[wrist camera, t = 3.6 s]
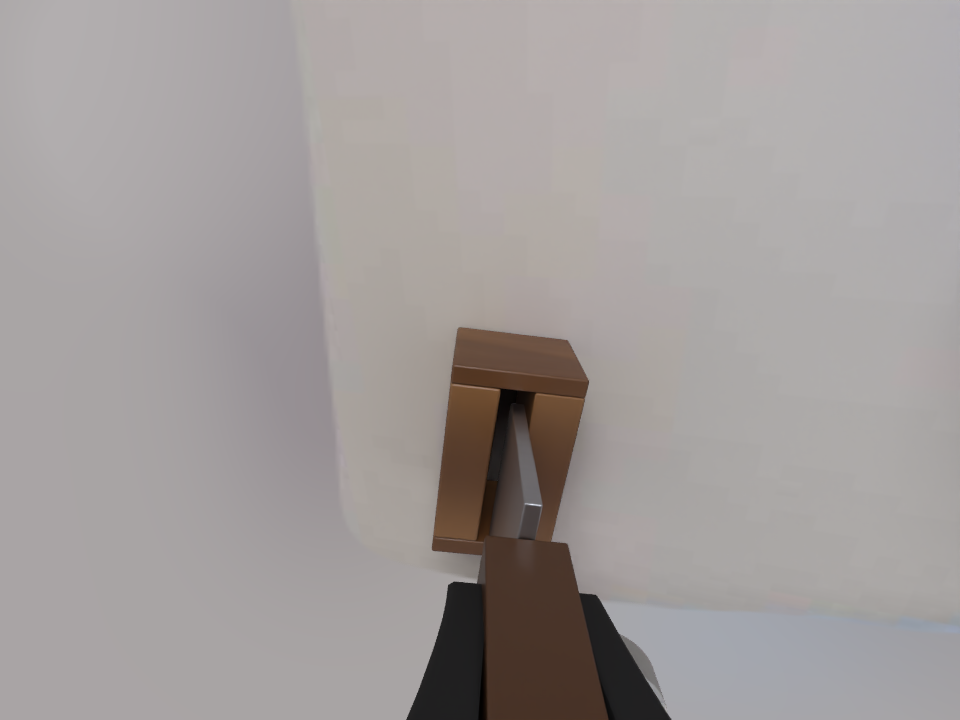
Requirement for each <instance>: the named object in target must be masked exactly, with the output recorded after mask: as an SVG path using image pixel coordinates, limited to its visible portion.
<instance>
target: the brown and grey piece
mask: <svg viewBox="0 0 960 720" xmlns="http://www.w3.org/2000/svg"><path fill="white" fill-rule="evenodd" d="M542 507H543V505H542V499H541V494H540V489H539V483H538V478H537V472H536V467H535V462H534V456H533V451H532V445H531V440H530V435H529V429H528V424H527V419H526V413H525V408H524V405H523V404H515V403H512V404H511V407H510V413H509V419H508V424H507V430H506V436H505V442H504V448H503V454H502V460H501V465H500V471H499V477H498V483H497V489H496V495H495V501H494V506H493V512H492V518H491V524H490V530H489V536H486V537H485V539H484V545H483V551H482V557H481V563H480V569H479V575H478V581H477V584H481V585H482V600H483V622H484V647H483V660H482V674H481V687H480V701H479V714H478V720H609V719H608V715H607V710H606V706H605V702H604V698H603V693H602V689H601V685H600V680H599V676H598V672H597V668H596V663H595V659H594V655H593V651H592V646H591V642H590V638H589V633H588V629H587V625H586V621H585V616H584V612H583V608H582V604H581V599H580V595H579V591H578V586H577V582H576V578H575V574H574V569H573V565H572V561H571V557H570V552H569V548H568V545H567V544H566V543H557V542H547V541H537V540H535V539H536V534H537V530H538V525H539V521H540V516H541V512H542Z"/></svg>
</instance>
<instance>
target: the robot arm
mask: <svg viewBox="0 0 960 720" xmlns="http://www.w3.org/2000/svg"><path fill="white" fill-rule="evenodd" d="M579 595H580V599H581V604H582V608H583V612H584V616H585V621H586V625H587V629H588V633H589V638H590V642H591V646H592V651H593V655H594V659H595V663H596V668H597V672H598V676H599V680H600V685H601V689H602V693H603V698H604V702H605V706H606V710H607V715H608V719H609V720H671V718H670V717H669V715H668V714H667V712H666V710H665V709H664V707H663V706H662V704H661V703H660V701H659V699H658V698H657V696H656V695H655V693H654V692H653V690H652V688H651V687H650V685H649V684H648V682H647V680H646V679H645V677H644V676H643V674H642V672H641V671H640V669H639V667H638V666H637V664H636V662H635V661H634V659H633V657H632V656H631V654H630V652H629V650H628V649H627V647H626V645H625V644H624V642H623V640H622V638H621V637H620V635H619V633H618V632H617V630H616V628H615V626H614V624H613V623H612V621H611V619H610V617H609V616H608V614H607V612H606V610H605V609H604V607H603V605H602V603H601V601H600V599H599V598H598V597H597V596H596V595H592V594H582V593H579ZM483 647H484V622H483V600H482V585H481V584H475V583H464V582H453V583H451V584H449V585H448V591H447V599H446V605H445V610H444V614H443V618H442V622H441V626H440V629H439V632H438V636H437V639H436V642H435V646H434V649H433V652H432V655H431V657H430V660H429V663H428V666H427V669H426V671H425V674H424V677H423V680H422V683H421V685H420V688H419V691H418V693H417V695H416V698H415V700H414V703H413V705H412V707H411V710H410V712H409V715H408V717H407V719H406V720H478V714H479V701H480V687H481V674H482V660H483Z"/></svg>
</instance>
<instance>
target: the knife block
mask: <svg viewBox="0 0 960 720" xmlns="http://www.w3.org/2000/svg"><path fill="white" fill-rule="evenodd" d="M588 384H589V380H588V378H587V376H586V374H585V372H584V370H583V368H582V367H581V365H580V363H579V361H578V359H577V357H576V355H575V353H574V351H573V349H572V347H571V346H570V344H569V342H568V341H567V340H561V339H552V338H544V337H536V336H527V335H519V334H511V333H502V332H494V331H486V330H477V329H469V328H461V327H460V328H458V331H457V337H456V344H455V351H454V358H453V365H452V374H451V383H450V392H449V401H448V410H447V418H446V427H445V436H444V445H443V454H442V463H441V472H440V481H439V490H438V499H437V507H436V516H435V525H434V535H433V543H432V550H433V551H442V552H452V553H462V554H473V555H482V551H483V545H484V539H485V537H486V536H489V530H490V524H491V518H492V512H493V506H494V501H495V495H496V489H497V483H498V481H493V480H487V475H488V469H489V463H490V456H491V450H492V444H493V438H494V431H495V425H496V419H497V413H498V407H499V400H500V394H501V389H510V390H518V392H517V398H516V404H523V405H524V408H525V413H526V419H527V424H528V429H529V435H530V440H531V445H532V451H533V456H534V462H535V467H536V472H537V478H538V483H539V489H540V494H541V499H542V505H543V507H542V512H541V516H540V521H539V525H538V530H537V534H536V539H535V540H537V541H547V542H551V539H552V535H553V531H554V527H555V522H556V518H557V514H558V510H559V506H560V502H561V497H562V493H563V489H564V485H565V481H566V477H567V472H568V468H569V464H570V460H571V456H572V452H573V447H574V443H575V439H576V435H577V431H578V427H579V422H580V418H581V414H582V410H583V406H584V402H585V396H586V393H587V389H588Z"/></svg>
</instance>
